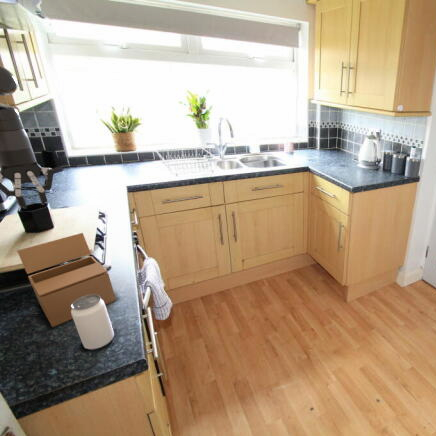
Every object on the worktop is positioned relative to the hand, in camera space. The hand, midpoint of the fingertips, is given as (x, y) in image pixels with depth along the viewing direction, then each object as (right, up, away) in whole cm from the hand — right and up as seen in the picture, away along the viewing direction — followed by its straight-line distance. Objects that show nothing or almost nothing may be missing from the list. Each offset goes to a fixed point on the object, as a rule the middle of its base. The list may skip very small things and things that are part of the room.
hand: (34, 205), depth 93 cm
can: (+28, -35, -13) cm, 47 cm away
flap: (+7, -14, -1) cm, 15 cm away
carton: (+13, -28, 0) cm, 31 cm away
